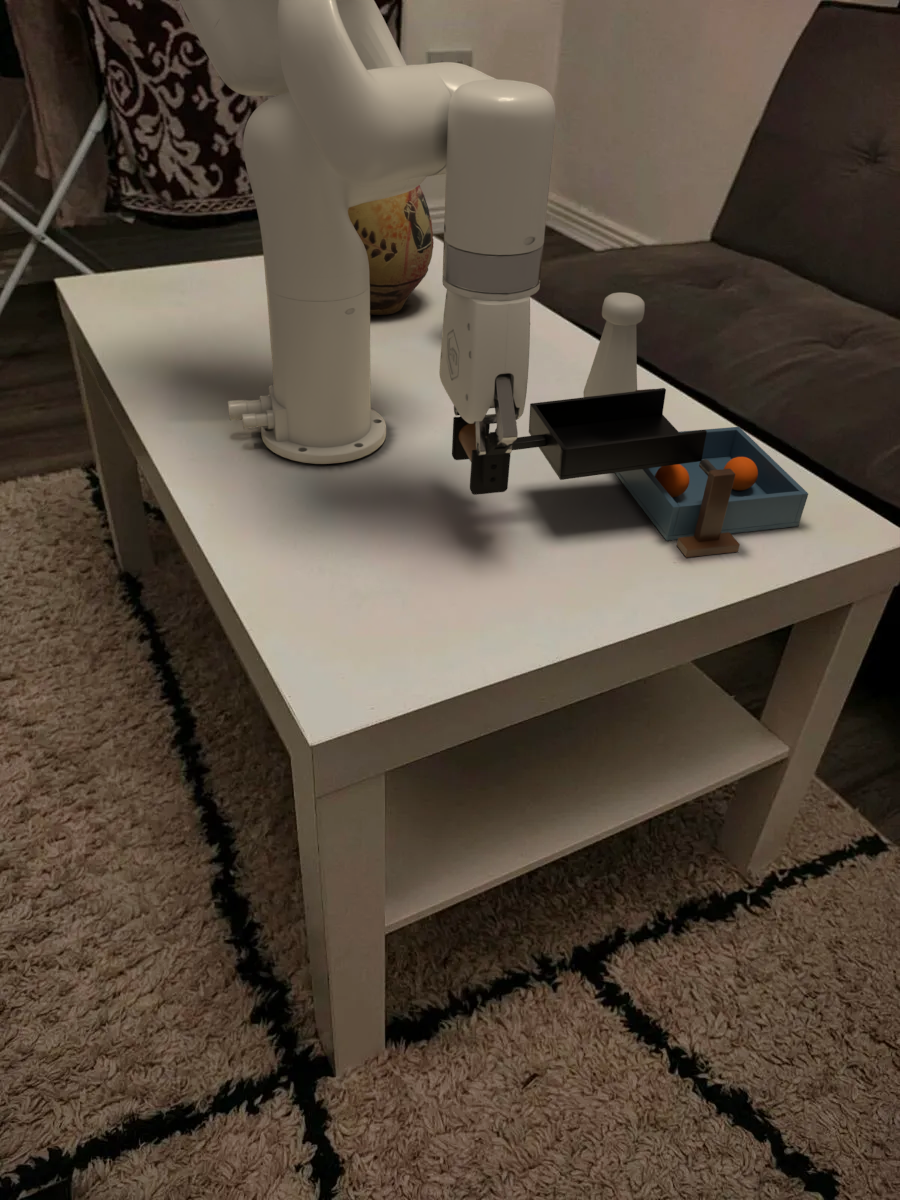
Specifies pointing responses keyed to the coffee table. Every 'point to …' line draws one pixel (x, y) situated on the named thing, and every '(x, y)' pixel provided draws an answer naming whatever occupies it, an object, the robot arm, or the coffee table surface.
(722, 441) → the tray
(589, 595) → the coffee table surface
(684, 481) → the ball
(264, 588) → the coffee table surface
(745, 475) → the ball
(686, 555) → the stand
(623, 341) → the salt shaker
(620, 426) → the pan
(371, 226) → the ceramic jug
